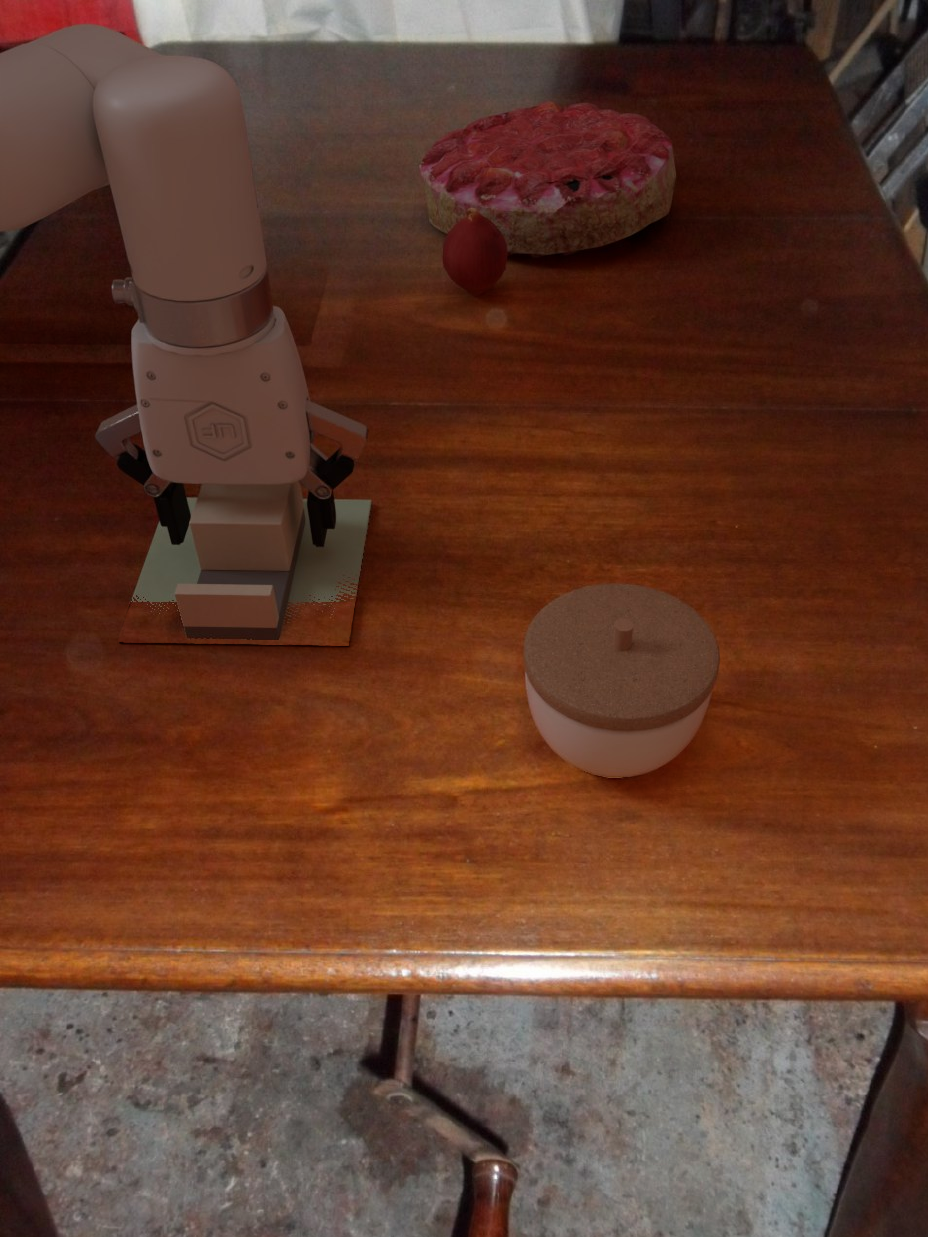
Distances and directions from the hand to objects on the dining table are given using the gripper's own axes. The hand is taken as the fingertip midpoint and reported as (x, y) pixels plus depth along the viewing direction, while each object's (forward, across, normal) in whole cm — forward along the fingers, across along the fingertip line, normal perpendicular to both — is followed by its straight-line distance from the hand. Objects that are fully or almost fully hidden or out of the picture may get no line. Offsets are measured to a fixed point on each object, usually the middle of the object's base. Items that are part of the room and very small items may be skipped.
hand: (251, 533), depth 79 cm
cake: (+2, +21, +54) cm, 58 cm away
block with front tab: (+2, 0, -2) cm, 2 cm away
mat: (+2, 0, -2) cm, 2 cm away
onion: (+2, +14, +38) cm, 40 cm away
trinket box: (+2, +24, -16) cm, 29 cm away
